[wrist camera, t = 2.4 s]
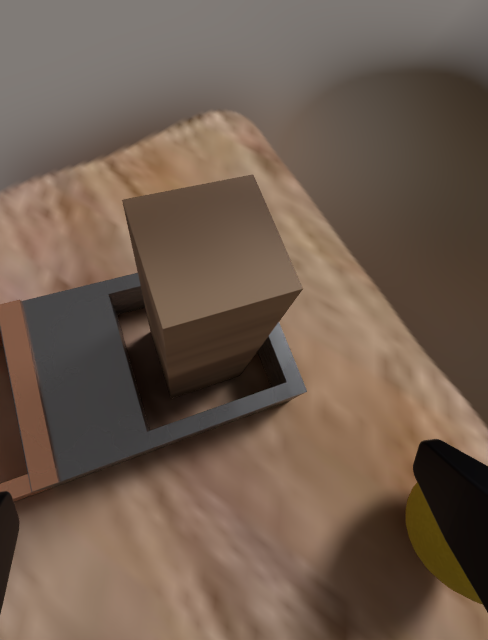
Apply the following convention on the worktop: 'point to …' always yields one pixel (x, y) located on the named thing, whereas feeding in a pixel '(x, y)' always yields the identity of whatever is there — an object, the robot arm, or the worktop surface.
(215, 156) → the worktop surface
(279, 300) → the peg
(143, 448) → the rail
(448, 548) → the lemon
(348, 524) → the worktop surface
